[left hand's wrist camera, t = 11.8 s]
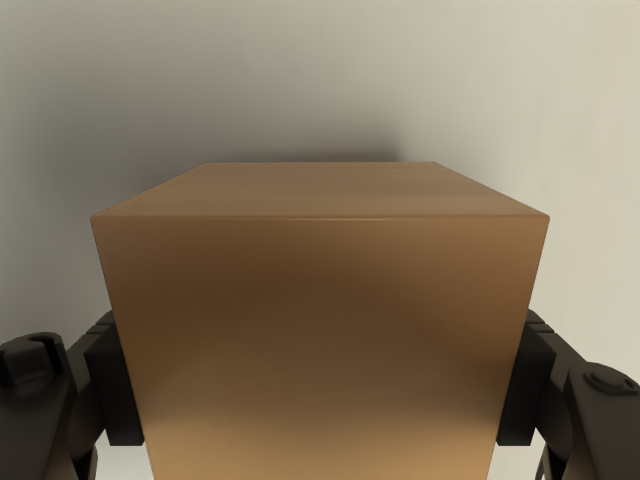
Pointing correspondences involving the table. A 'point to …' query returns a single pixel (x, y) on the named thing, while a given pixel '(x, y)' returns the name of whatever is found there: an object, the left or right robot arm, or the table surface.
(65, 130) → the table surface
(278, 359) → the wide beam
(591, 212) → the table surface
